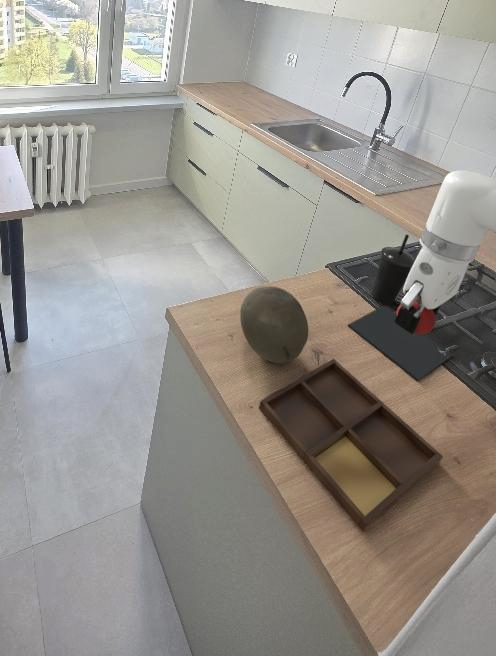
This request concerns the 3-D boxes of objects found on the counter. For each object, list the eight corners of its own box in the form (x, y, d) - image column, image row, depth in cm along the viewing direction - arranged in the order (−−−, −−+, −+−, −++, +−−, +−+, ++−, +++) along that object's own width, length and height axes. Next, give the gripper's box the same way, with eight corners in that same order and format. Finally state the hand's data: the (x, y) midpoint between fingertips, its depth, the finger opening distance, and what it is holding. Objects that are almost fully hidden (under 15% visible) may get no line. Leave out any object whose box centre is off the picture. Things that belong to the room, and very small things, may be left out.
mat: (453, 356, 93) (454, 354, 93) (417, 381, 87) (418, 379, 87) (382, 307, 106) (383, 305, 106) (347, 326, 100) (348, 324, 100)
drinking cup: (394, 314, 104) (421, 249, 96) (361, 296, 109) (384, 234, 101) (403, 299, 109) (429, 236, 101) (371, 283, 114) (394, 222, 106)
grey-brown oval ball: (305, 342, 95) (321, 291, 89) (292, 389, 84) (309, 336, 78) (244, 314, 102) (255, 265, 96) (225, 355, 91) (235, 303, 85)
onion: (398, 314, 82) (411, 283, 79) (432, 334, 78) (447, 301, 75) (386, 328, 79) (399, 296, 76) (421, 349, 75) (436, 316, 72)
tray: (438, 463, 73) (443, 456, 72) (362, 531, 64) (366, 524, 63) (331, 365, 90) (333, 358, 89) (258, 407, 81) (260, 400, 80)
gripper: (447, 271, 63) (409, 355, 71) (499, 240, 71) (460, 319, 78) (397, 243, 69) (366, 323, 76) (449, 218, 77) (417, 293, 84)
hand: (414, 320), depth 77 cm, fingers closed on onion, 6 cm apart
